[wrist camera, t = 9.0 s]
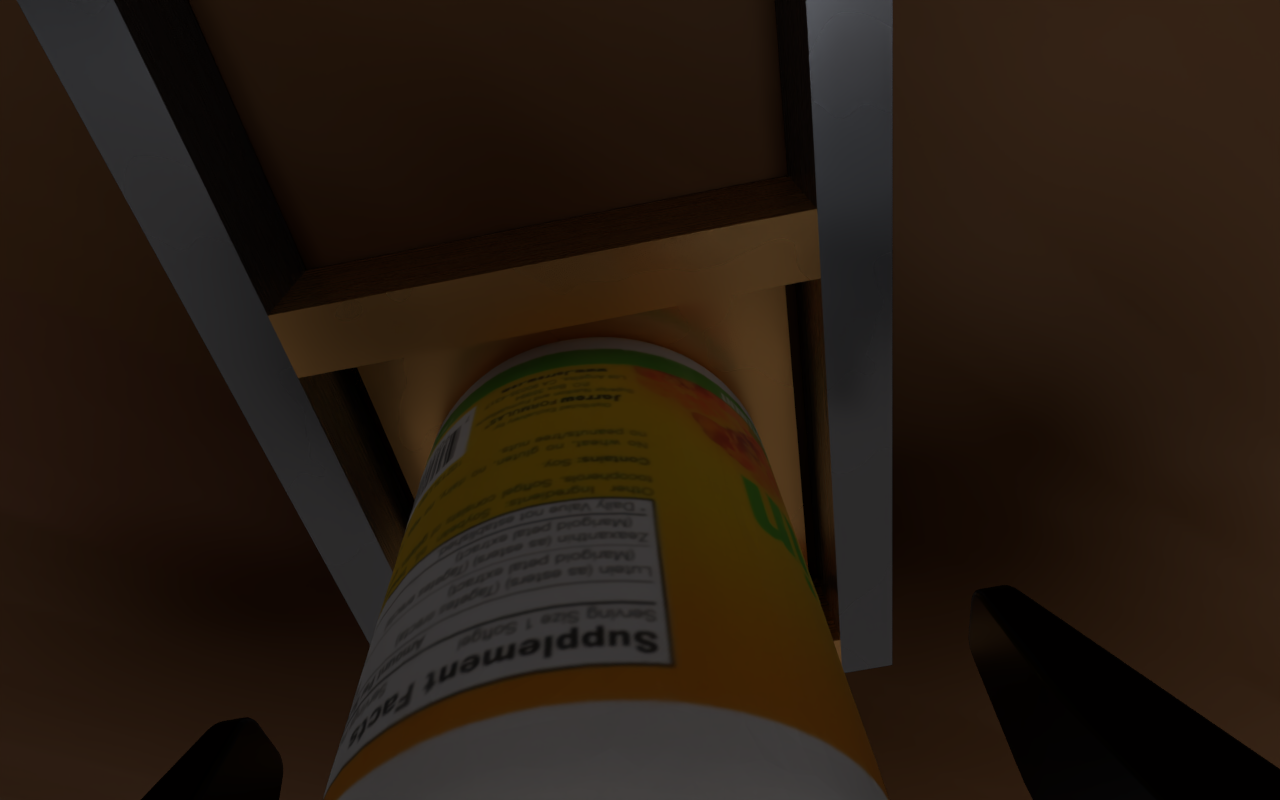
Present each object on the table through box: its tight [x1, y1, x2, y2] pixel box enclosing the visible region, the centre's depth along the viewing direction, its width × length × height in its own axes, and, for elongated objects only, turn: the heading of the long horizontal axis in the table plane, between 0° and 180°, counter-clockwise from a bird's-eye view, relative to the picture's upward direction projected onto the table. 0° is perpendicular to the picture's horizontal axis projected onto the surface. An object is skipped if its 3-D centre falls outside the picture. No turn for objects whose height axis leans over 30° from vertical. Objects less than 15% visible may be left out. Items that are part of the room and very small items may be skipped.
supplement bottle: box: [323, 337, 889, 800], centre depth 8 cm, size 5×5×10 cm
